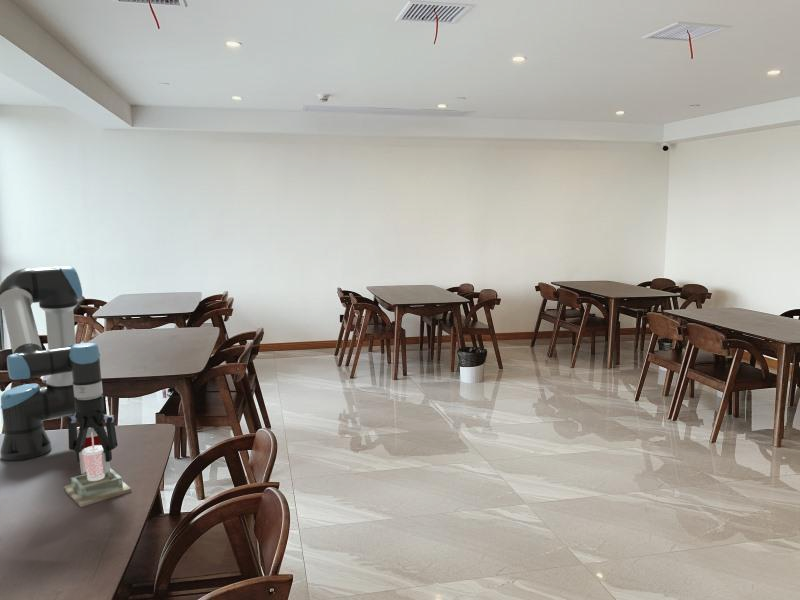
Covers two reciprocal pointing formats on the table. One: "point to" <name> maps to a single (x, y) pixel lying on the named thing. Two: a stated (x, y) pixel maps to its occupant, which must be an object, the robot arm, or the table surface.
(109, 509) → the table surface
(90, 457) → the beverage cup
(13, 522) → the table surface
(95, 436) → the plastic cup
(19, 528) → the table surface
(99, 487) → the cup stand
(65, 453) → the table surface
